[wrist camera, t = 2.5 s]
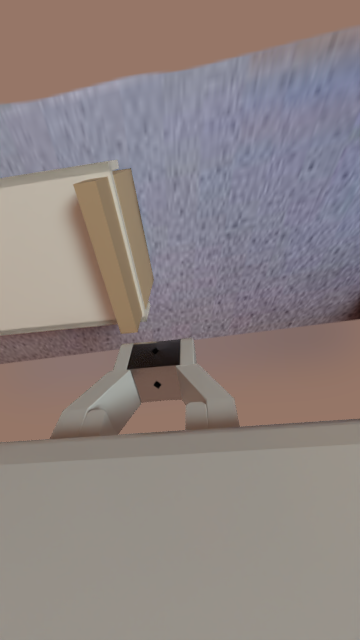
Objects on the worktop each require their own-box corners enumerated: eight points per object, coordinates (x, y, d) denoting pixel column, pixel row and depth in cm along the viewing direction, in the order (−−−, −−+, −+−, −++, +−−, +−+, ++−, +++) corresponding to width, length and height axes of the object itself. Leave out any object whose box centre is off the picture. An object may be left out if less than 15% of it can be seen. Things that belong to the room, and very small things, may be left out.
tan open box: (130, 168, 25) (113, 174, 20) (153, 279, 32) (146, 309, 26) (-37, 194, 27) (-98, 206, 21) (18, 294, 34) (-18, 325, 28)
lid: (117, 159, 21) (94, 163, 16) (150, 306, 28) (142, 339, 24) (-83, 191, 23) (-159, 203, 18) (-2, 321, 30) (-39, 355, 25)
